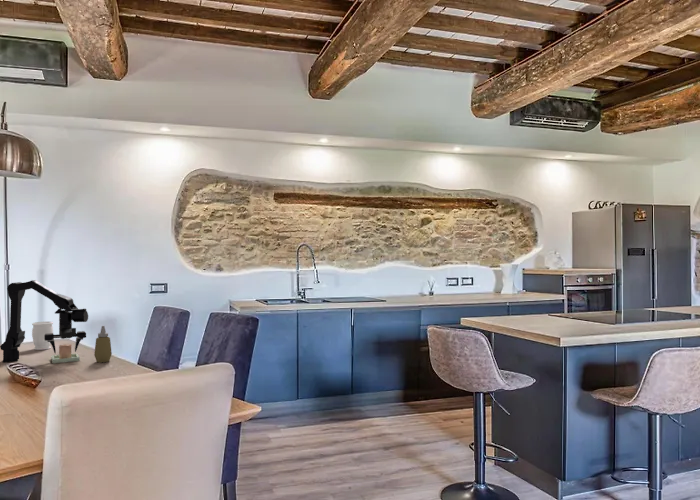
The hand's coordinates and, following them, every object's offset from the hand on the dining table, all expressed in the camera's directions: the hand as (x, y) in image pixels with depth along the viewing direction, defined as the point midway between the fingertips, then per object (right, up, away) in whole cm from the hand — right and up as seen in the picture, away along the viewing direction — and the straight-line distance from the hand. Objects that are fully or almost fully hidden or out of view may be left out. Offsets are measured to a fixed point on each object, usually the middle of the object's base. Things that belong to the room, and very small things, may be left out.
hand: (65, 352), depth 275 cm
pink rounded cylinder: (0, -3, 0) cm, 3 cm away
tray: (0, -4, 0) cm, 4 cm away
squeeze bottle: (+21, -4, -4) cm, 22 cm away
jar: (-29, -4, +31) cm, 43 cm away
